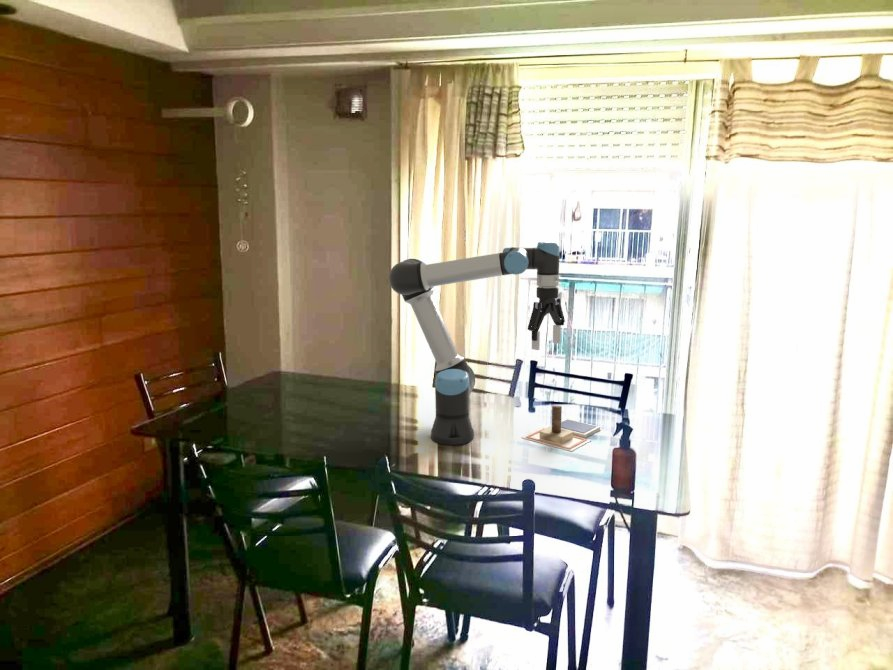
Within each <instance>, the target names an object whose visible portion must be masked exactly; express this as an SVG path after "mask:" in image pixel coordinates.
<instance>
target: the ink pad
mask: <svg viewBox="0 0 893 670" xmlns="http://www.w3.org/2000/svg"><path fill="white" fill-rule="evenodd" d="M550 426H551V427H552V425H550ZM561 429H564V430H568V431H572V432H573V436H577V437H581V438H585V439H587V438H588V437H590V436H591V435H593V434H596V433H597V432H599V431H601V426H598V425H595V424H592V423H591V424H590V423H587V422H583V421H577V420H574V419H569V418H564V419H563V420H561Z"/></svg>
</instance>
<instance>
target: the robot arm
mask: <svg viewBox="0 0 893 670" xmlns="http://www.w3.org/2000/svg"><path fill="white" fill-rule="evenodd" d="M526 270H536V286H537V287H536V297H537V298H538V299H539V301H537V302H536V301H534V302H533V305H532V306H533V307H532V311H531V315H530V319H529V322H528V326H527V330H528V331H530V332H531V350H535V351H540V347H541V346H540V341H541V339H540V338H541V337H540V335H541V331H539V330H540V328H541V325H542V323H543V322H544V319H545V317H546V316H547V315H548V314H549V315H550V318H551V319H552V321H553V323H554V324H553V326H552V343H554V344H561V335H562V334H561V332H562V330H561V329H562V326H564V325H565V322H566V320H565V315H564V312H563V308H562V304H561V303H562V302H561V298H559V287H558V286H559V280H560V278H559V277H560V276H559V274H560V244H559V243H558V242H557V241H538V243H537V246H536V247H514V246H513V247H512V246H510V247H504V248H503V250H502V252H498V253H491V254H486V255H485V254H484V255H479V256H473V257H466V258H459V259H453V260H449V261H441V262H440V261H439V262H435V263H429V264H426V263H425V262H424V261H422V260H420V259H417V258H408V259H404V260H403V261H400V262H398V263H396V264H395V265H393V266H392V267H391V269H390V271H389V275H388V283H389V285H390V287H391V289H392V290H393V291H394V292H395V293H396V294H398V295H401V296H402V299H403V301H404V302H405V303H406V304H410V306H411V308H412V310H413V313H414V315H415V318H416V319H417V323H418V324H419V327H420V328H421V330H422V333H423V335H424V338H425V340H426V342H427V345H428V346H429V348H430V350H431V354H432V356H433V358H434V360H435V362H436V367H435V372H436V375H435V379H434V389H435V390H434V391H435V393H434V394H435V418H434V421H433V425H432V428H431V430H430V439H431V441H433V442H434V443H437V444H440V445H446V446H447V445H448V446H458V445H464V444H467V443H470V442H472V441H473V440H474V439H475V431H474V428H473V425H472V422H471V419H470V396H471V394H472V391H474V387H475V386H476V385H475V384H476V375H475V371H474V370H473V369H472V367H471V366H470V365H469V364H468V363H467V359H466V358H465V357H464V356H463V355H460V354H459V352H458V350H457V348H456V345H455V343H454V341H453V339H452V337H451V333H450V332H449V330H448V328H447V325H446V323H445V320H444V319H443V316H442V314H441V312H440V309H439V306H438V304H437V302H436V300H435V298H434V296H433V293H434V290H435V288H434V287H438V286H444V285H450V284H451V285H452V284H455V283H463V282H464V283H465V282H469V281H476V280H481V279H482V280H483V279H489V278H494V277H501V276H507V275H508V276H510V275H521V274H523V273H525V272H526Z"/></svg>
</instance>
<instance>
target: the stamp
mask: <svg viewBox="0 0 893 670" xmlns="http://www.w3.org/2000/svg"><path fill="white" fill-rule="evenodd" d="M551 407H552V408H551V410H552V411H551V425H550V426H548V427H545V429H544V430H542V431H540V439H543V440H547V441H551V442H554V443H558V444H564V443H566V442H568V441H570V440H572V439H573V436H574V435H573V432H572V431H568V430H564V429H561V421H562V410H563V409H562V407H563V406H561V405H559V404H558V405H557V404H554V405H552V406H551ZM551 426H552V427H551Z"/></svg>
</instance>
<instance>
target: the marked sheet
mask: <svg viewBox="0 0 893 670" xmlns="http://www.w3.org/2000/svg"><path fill="white" fill-rule="evenodd" d="M544 429H546V427H545V428H544V427H541V428H538V429H535V430H534V431H533V432H530V433H528V434H526V435H524V436H522V437H521V439H523V440H524V439H525V440H528V441H531V442H535V443H539V444H543V445H545V446H550V447H554V448H557V449H561V450H565V451H569V452H573V451H575V450H578V449H579V448H580V447H583V446H585V445H587V444H588V443H589V442H592V439H588V438H583V437H579V436H575V435H573V439H572V440H570V441H568V442H566V443H564V444H558V443H554V442H551V441H547V440H543V439H540V431H542V430H544Z"/></svg>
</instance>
